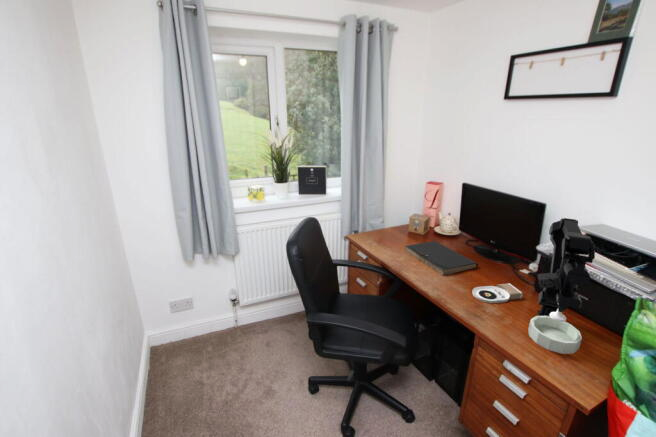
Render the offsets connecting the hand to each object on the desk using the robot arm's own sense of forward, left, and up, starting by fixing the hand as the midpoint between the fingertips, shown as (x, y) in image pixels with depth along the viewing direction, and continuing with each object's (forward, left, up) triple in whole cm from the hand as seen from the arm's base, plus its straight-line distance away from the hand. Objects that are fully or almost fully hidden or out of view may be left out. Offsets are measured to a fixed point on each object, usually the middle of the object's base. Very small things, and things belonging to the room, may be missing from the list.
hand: (559, 310), depth 110 cm
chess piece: (0, 0, -3) cm, 3 cm away
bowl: (0, 0, -12) cm, 12 cm away
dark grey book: (-51, -48, -13) cm, 71 cm away
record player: (-23, -19, -13) cm, 33 cm away
